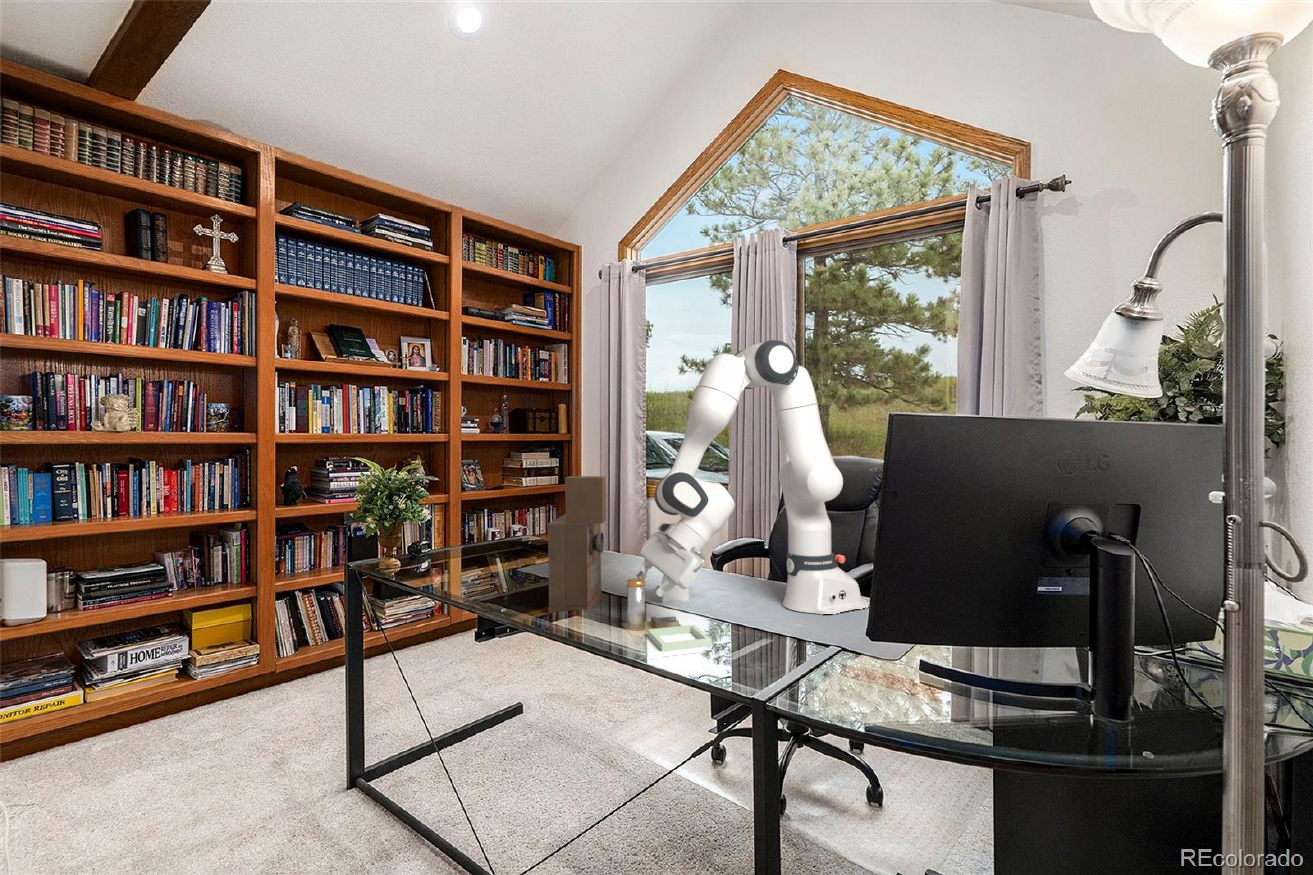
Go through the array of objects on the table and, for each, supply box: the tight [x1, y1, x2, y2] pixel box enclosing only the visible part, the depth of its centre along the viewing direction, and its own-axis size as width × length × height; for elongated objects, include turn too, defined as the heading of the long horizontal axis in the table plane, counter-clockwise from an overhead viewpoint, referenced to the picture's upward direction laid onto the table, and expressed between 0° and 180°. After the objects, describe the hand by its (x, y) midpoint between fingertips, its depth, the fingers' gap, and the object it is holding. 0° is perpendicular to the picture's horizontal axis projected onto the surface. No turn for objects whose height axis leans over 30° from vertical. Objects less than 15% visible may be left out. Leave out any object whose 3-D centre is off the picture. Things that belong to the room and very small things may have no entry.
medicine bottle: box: [661, 574, 691, 604], centre depth 180 cm, size 7×7×12 cm
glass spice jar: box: [626, 577, 646, 631], centre depth 152 cm, size 4×4×11 cm
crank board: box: [620, 615, 682, 637], centre depth 154 cm, size 13×10×3 cm
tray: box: [647, 624, 713, 658], centre depth 143 cm, size 11×11×3 cm
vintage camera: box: [547, 475, 607, 614], centre depth 178 cm, size 19×14×35 cm
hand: (647, 586), depth 157 cm, fingers open, 8 cm apart
